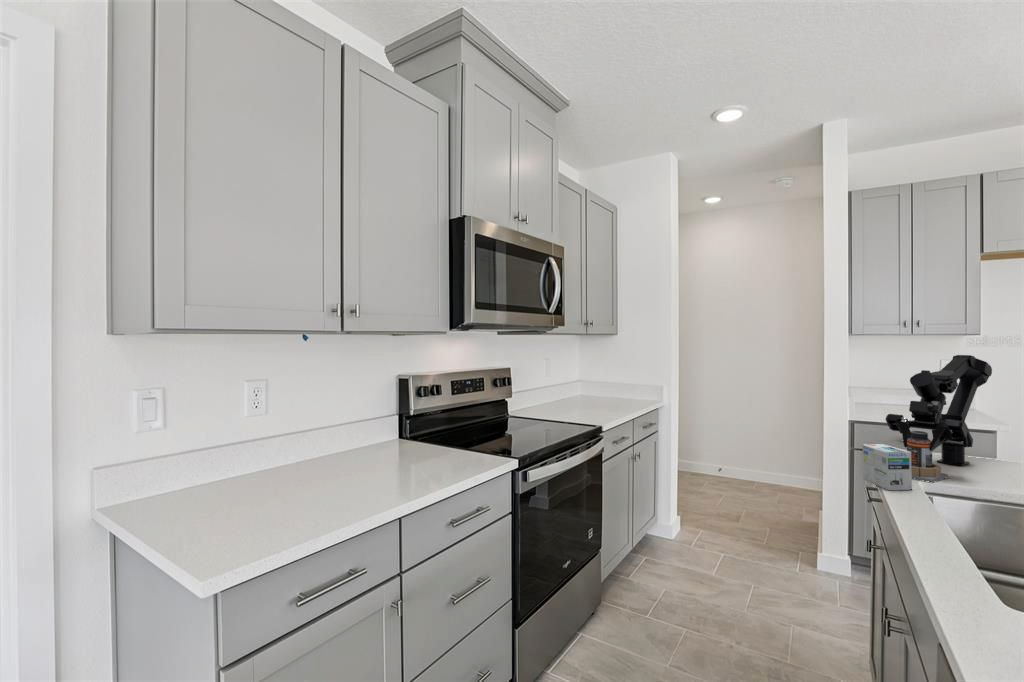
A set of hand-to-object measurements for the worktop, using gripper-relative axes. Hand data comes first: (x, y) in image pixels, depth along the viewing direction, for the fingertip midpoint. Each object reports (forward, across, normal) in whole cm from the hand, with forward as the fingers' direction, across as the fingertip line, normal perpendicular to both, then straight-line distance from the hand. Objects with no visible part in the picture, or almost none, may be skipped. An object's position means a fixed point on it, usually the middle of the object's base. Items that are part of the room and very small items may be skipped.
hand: (917, 448), depth 149 cm
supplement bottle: (+4, 0, +6) cm, 7 cm away
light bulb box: (+17, -2, -5) cm, 18 cm away
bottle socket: (+5, 0, +7) cm, 9 cm away
